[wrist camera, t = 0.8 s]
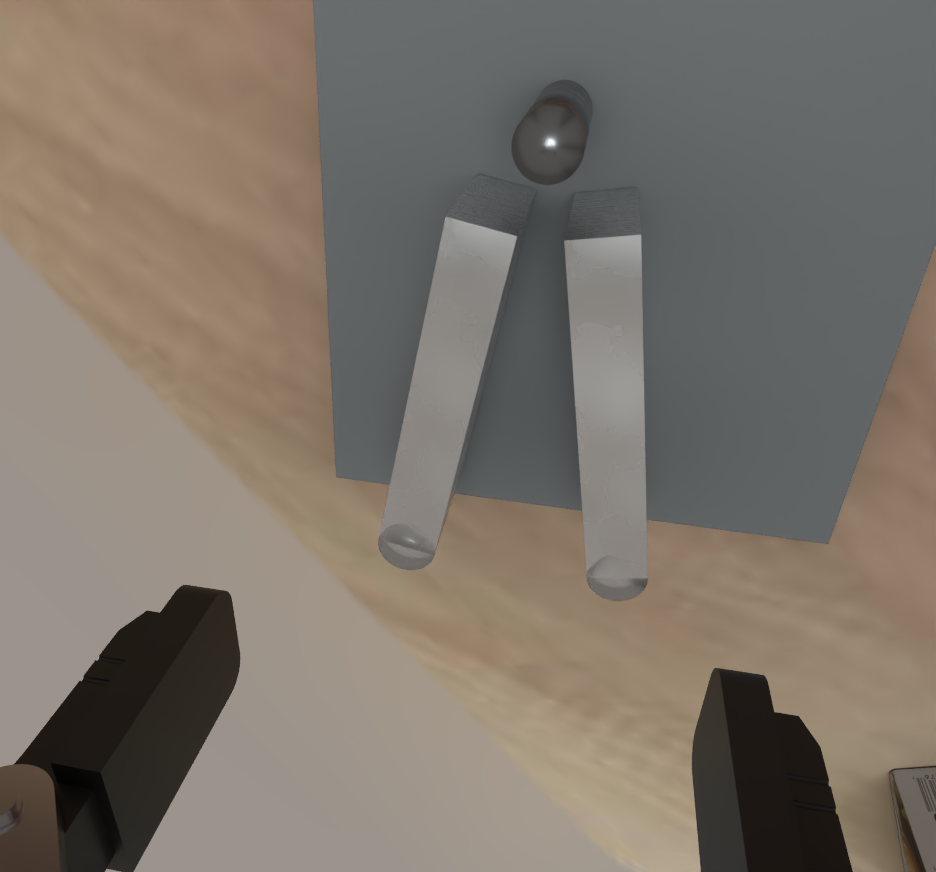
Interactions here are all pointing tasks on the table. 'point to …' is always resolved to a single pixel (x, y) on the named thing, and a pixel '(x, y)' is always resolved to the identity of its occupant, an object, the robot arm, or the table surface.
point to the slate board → (642, 232)
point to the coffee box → (916, 816)
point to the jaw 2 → (609, 386)
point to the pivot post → (553, 134)
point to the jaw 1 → (452, 363)
